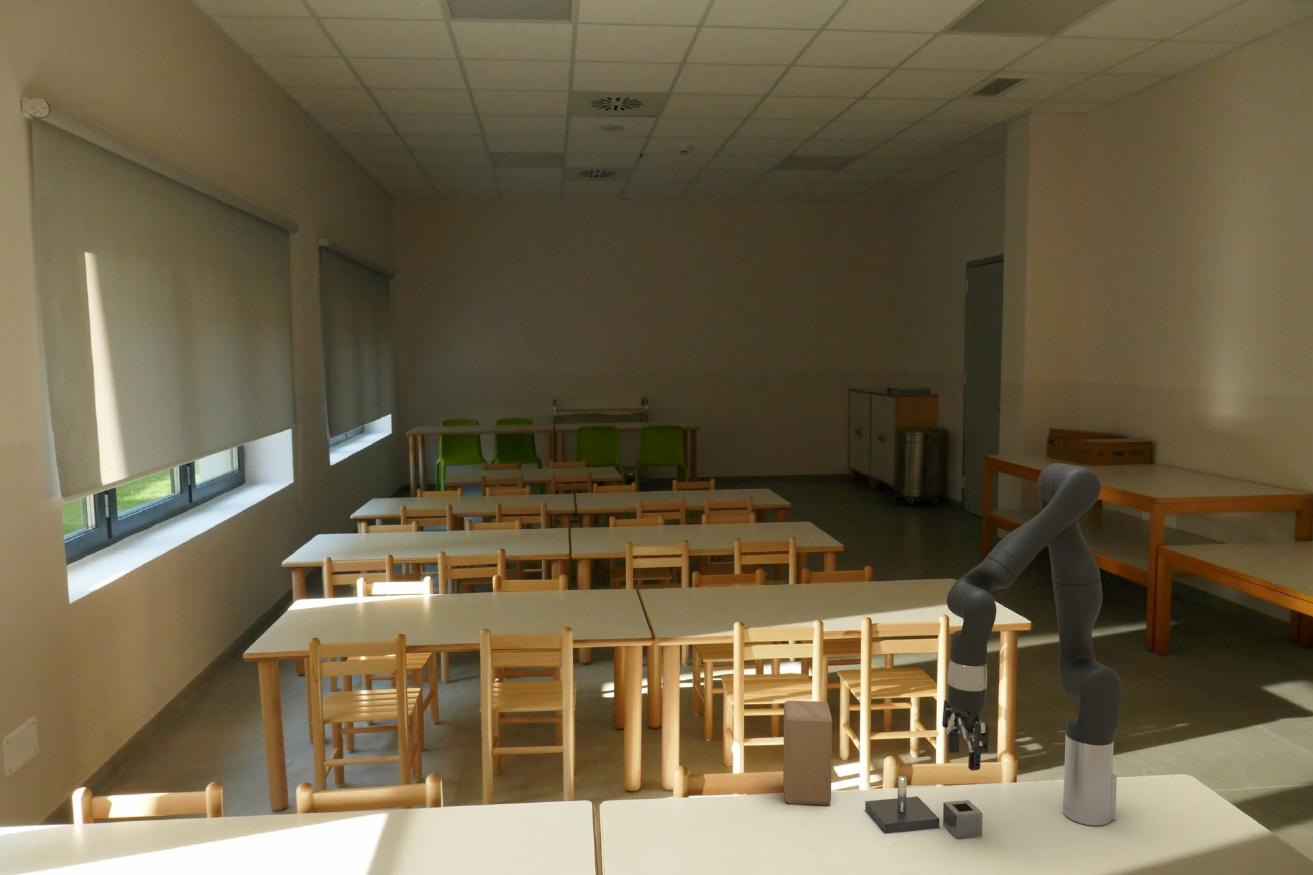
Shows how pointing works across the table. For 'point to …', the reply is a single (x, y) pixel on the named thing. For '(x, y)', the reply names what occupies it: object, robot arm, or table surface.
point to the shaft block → (902, 812)
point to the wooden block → (807, 752)
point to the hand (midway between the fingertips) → (963, 760)
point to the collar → (962, 819)
